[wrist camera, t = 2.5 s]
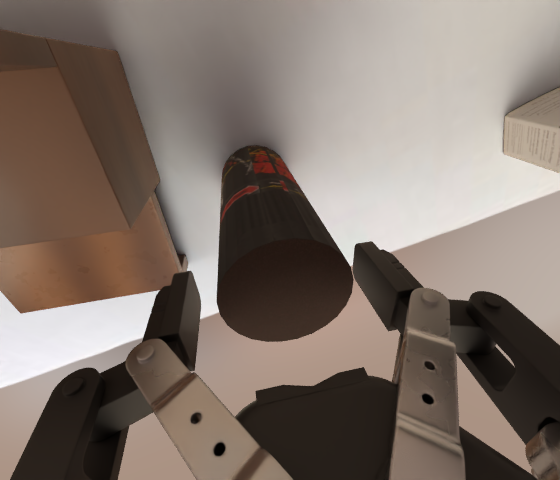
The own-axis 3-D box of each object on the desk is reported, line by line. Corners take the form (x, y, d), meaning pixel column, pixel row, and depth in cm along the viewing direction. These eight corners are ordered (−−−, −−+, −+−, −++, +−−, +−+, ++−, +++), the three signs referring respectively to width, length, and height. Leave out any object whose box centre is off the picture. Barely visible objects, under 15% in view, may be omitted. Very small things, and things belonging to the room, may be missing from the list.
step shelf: (117, 50, 18) (-117, 6, 6) (188, 263, 27) (158, 413, 15) (-122, 69, 16) (-1125, 62, 4) (43, 286, 26) (-115, 472, 14)
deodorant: (292, 201, 26) (355, 323, 13) (232, 215, 25) (238, 354, 13) (281, 138, 22) (351, 221, 10) (212, 154, 22) (195, 260, 10)
